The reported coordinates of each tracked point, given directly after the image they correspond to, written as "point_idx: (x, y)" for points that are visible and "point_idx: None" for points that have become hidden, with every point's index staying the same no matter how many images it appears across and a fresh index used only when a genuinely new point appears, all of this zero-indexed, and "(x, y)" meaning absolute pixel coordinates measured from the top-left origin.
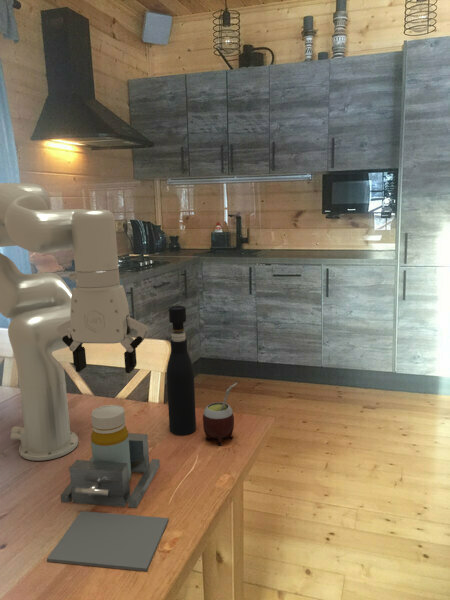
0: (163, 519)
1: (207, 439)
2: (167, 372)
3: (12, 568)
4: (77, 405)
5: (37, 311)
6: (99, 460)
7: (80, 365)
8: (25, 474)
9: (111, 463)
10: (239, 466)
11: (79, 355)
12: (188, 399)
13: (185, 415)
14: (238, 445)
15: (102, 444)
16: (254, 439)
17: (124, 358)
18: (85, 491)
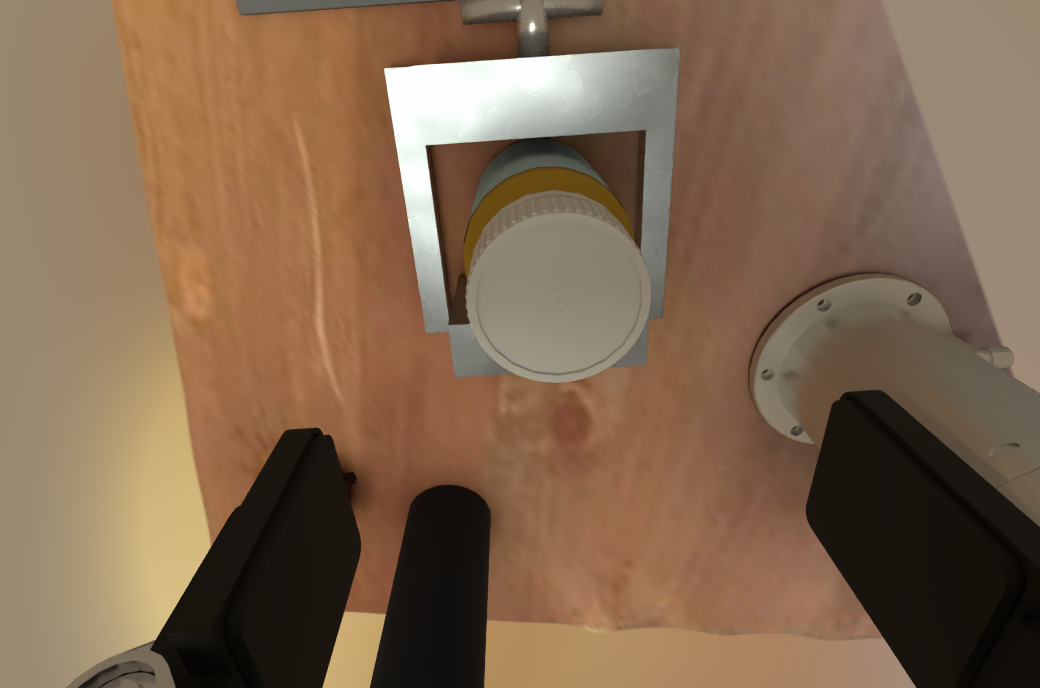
0: (252, 2)
1: (346, 476)
2: None
3: None
4: (833, 586)
5: None
6: (561, 155)
7: (862, 455)
8: (869, 192)
9: (491, 127)
10: (184, 362)
11: (950, 550)
12: (395, 596)
13: (415, 541)
14: (244, 465)
15: (545, 168)
16: (215, 500)
17: (269, 553)
18: None
